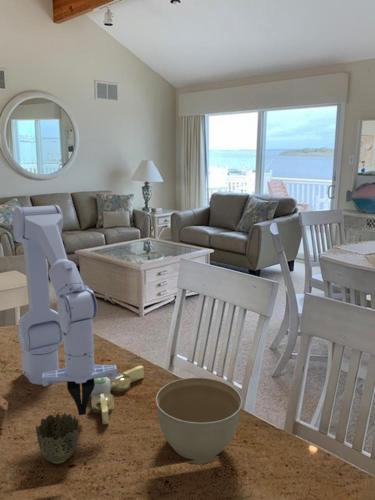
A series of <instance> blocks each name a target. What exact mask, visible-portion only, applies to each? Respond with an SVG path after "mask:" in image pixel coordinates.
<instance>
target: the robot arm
mask: <svg viewBox="0 0 375 500" xmlns="http://www.w3.org/2000/svg"><path fill="white" fill-rule="evenodd" d="M11 218H12V219H11V220H12V221H11V222H12V230H13V237H14V241H15V242H17V243H20V244H22V248H23V249H22V250H23V256H24V267H25V277H26V279H25V280H26V288H27V296H28V297H27V299H28V307H29V308H28V310H27V311H26V312H25V313H24V314H23V315H22V316H21V317H19V319H18V323H17V325H18V327H17V328H18V329H17V339H18V345H19V347H20V350H22V351H21V366H22V375H23V376H25V377H26V378H27V380H28V381H29V382H30V383H31V384H32V385H33V384H34V385H42V387H48V386H49V385H53V384H61V383H66V386H67V387H66V388H67V391H68V393H69V394H70V396H71V397H72V399H73V401H74V403H75V405H76V407H77V411H78V416H85V415H86V414H87V407H88V404H89V400H90V398H91V393H92V391H93V389H94V386H95V383H94V379H95V378H104V377H108V378H110V377H112V378H116V377H117V374H118V369H117V364H110V365H109V364H95V349H94V348H95V347H94V345H95V344H94V323H93V322H94V321H93V319H95V318H96V317H97V314H98V301H97V298H96V296H95V293H94V291H93V290H92V289H91V288H90V287H89V286H88V285H85V283H84V281H83V278H82V276H81V274H80V271H79V270H78V267H77V264H76V263H75V262H74V261H72V260H69V259H68V256H67V252H66V249H65V246H64V243H63V238H62V232H63V226H64V215H63V211H62V209H61V207H60V206H59V205H58V204H52V205H40V206H39V205H38V206H24V207H20V206H16V207H15V208H14V209H13V212H12V216H11ZM47 260H48V262H49V265H50V267H49V269H47V267H48V266H47ZM48 276H49V278H48ZM48 279H50V281H51V285H52V287H53V290H54V292H55V295H56V298H57V303H56V304H57V305H56V310H57V311H56V310H54V309H52V308H51V302H50V301H51V300H50V290H49V280H48ZM61 344H63V350H64V351H63V352H64V367H63V368H60V365H59V363H60V362H59V351H58V350H59V348H61Z"/></svg>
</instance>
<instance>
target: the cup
mask: <svg viewBox="0 0 375 500" xmlns="http://www.w3.org/2000/svg"><path fill="white" fill-rule="evenodd" d="M79 423H80V421H79V418H76V415H74V416H73V417H72V415H71V414H70V413H68V414H67V413H63V414H62V415H60V413H57V414H56V415H55V416H54V415H52V414H48V415H47V416H46V417H45V418H41V420H40V425H35V432H36V437H37V442H38V447H39V450H40V453H41V455H42V456H43V458H44V459H45V460H47V461H48V462H51V463H53V464H62V463H64V462H66V461H68V460H69V458H71V456H73V454H74V453H75V451H76V449H77V444H78V438H79V436H78V435H79Z"/></svg>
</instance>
